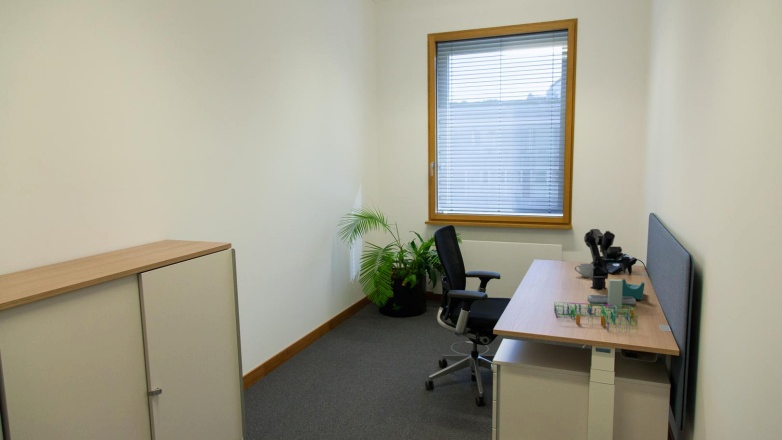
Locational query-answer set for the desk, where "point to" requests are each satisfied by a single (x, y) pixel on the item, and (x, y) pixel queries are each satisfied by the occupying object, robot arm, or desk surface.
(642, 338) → the desk surface
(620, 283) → the door panel
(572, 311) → the house model
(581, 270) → the teacup
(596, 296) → the door track
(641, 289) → the teal curved piece
